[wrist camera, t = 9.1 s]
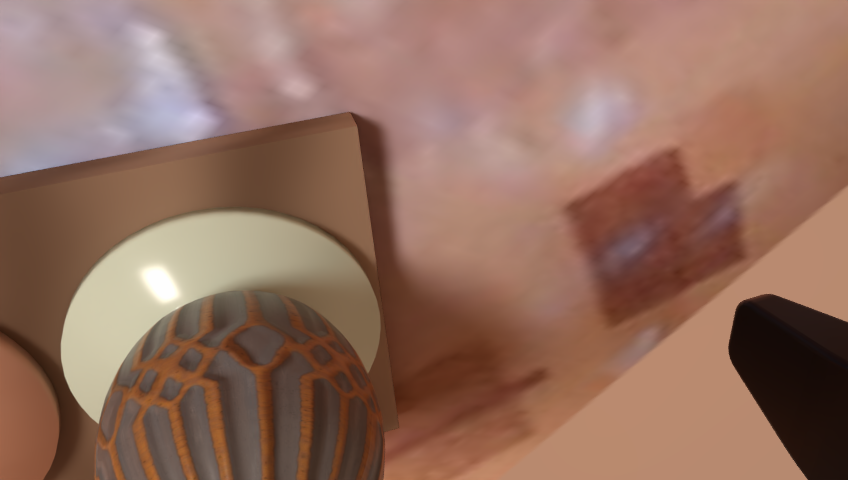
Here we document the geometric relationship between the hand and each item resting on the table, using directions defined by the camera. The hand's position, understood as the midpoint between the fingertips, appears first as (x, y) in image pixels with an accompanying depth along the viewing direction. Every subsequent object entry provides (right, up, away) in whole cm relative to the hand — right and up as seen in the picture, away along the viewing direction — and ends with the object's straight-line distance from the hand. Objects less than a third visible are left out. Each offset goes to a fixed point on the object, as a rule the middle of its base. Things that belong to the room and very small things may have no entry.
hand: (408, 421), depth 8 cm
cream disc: (-6, -1, +12) cm, 14 cm away
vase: (-5, -1, +12) cm, 13 cm away
